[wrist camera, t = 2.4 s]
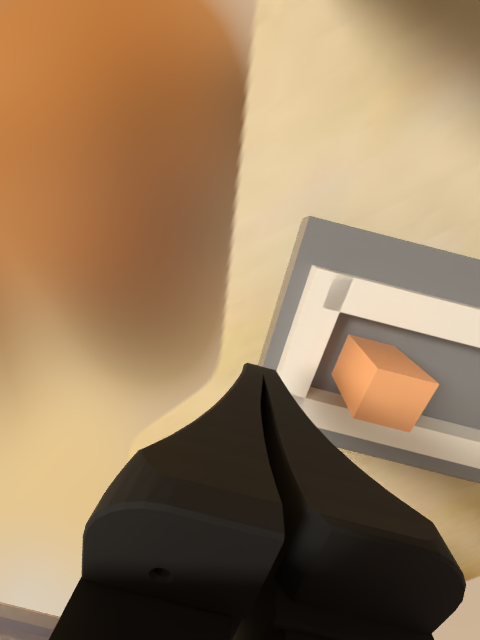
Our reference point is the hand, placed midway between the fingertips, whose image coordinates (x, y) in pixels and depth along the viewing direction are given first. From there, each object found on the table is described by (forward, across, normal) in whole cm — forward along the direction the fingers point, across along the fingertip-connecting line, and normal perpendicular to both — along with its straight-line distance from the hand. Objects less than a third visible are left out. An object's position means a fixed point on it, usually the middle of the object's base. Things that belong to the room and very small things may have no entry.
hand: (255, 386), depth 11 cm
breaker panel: (+9, -13, 0) cm, 16 cm away
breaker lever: (+6, -7, 0) cm, 9 cm away
